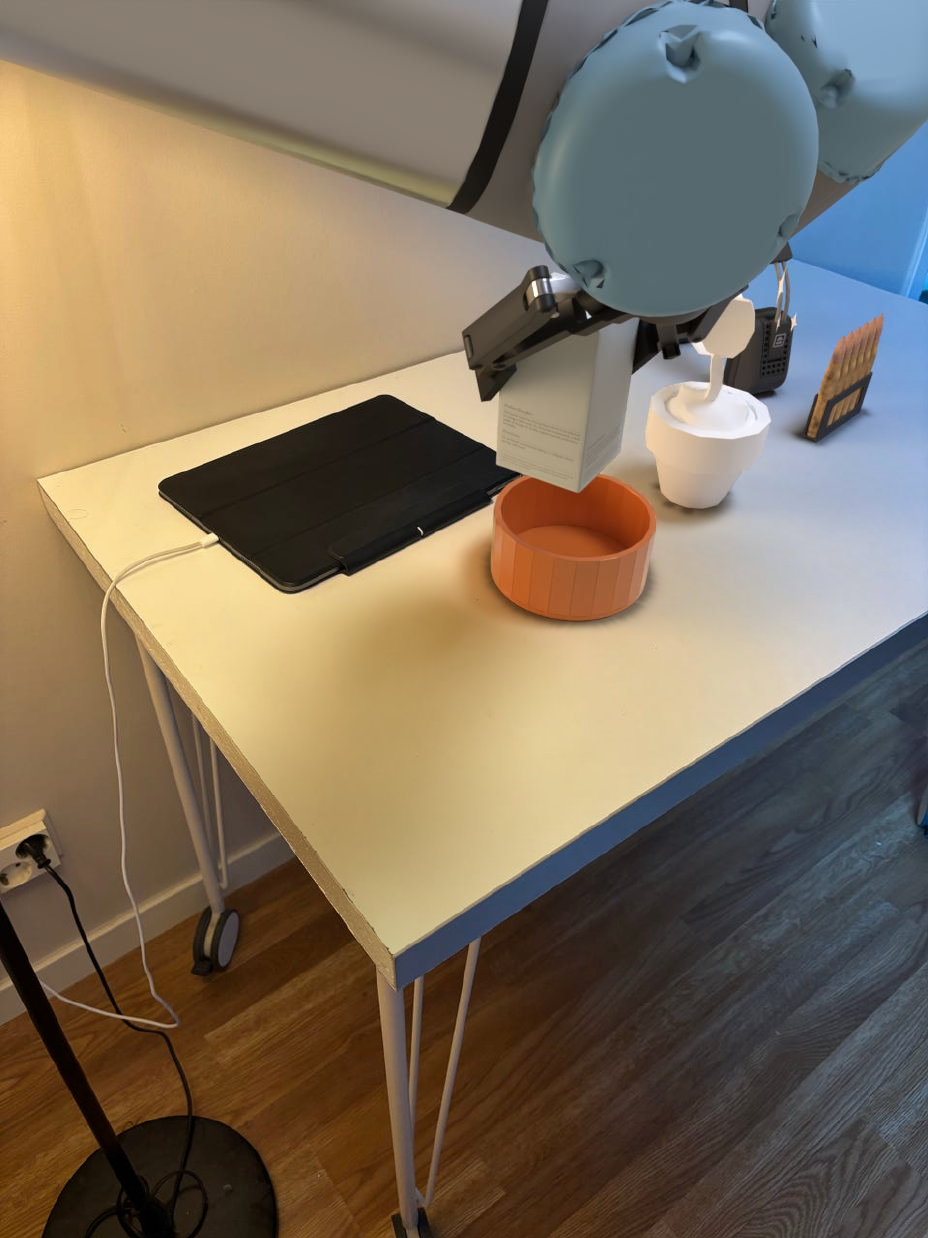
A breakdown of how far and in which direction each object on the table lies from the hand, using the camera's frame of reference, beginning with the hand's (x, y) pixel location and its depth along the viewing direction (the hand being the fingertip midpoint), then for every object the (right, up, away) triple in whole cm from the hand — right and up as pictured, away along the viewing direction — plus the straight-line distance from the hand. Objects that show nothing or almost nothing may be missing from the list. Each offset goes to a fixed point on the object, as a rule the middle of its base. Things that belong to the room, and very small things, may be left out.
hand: (549, 375), depth 71 cm
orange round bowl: (+3, -14, +17) cm, 22 cm away
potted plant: (+17, -5, +28) cm, 33 cm away
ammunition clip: (+36, +4, +40) cm, 54 cm away
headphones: (+25, +15, +51) cm, 59 cm away
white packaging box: (+1, -6, +2) cm, 6 cm away
